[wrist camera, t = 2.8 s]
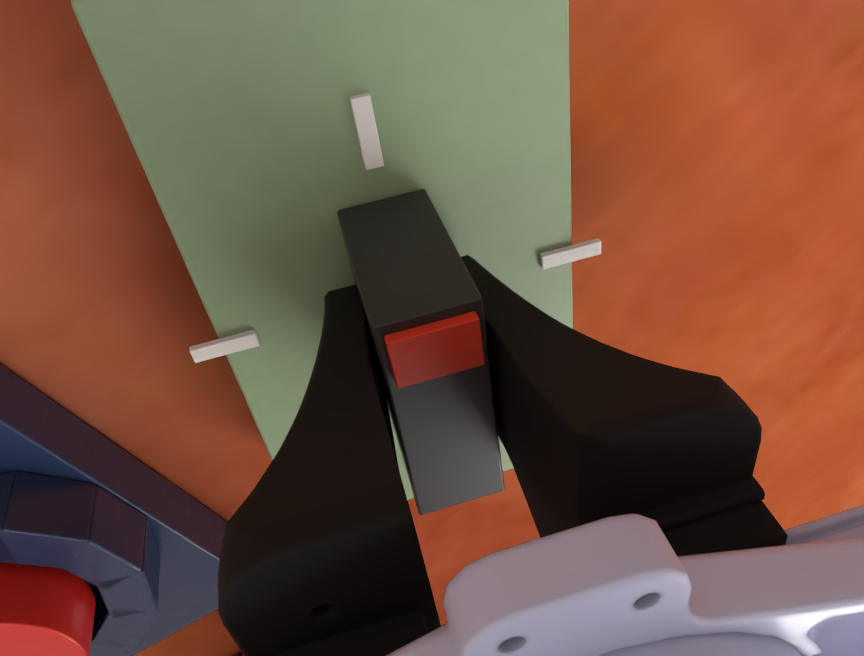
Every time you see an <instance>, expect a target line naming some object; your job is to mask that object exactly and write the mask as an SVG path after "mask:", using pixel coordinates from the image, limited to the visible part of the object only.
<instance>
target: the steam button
mask: <svg viewBox="0 0 864 656" xmlns="http://www.w3.org/2000/svg"><path fill="white" fill-rule="evenodd" d="M95 608H96V599H95V596H94V593H93V591H92V589H91V587H90V586H89V585H88V584H87V583H86V581H84V580H83V579H81V578H79V577H77V576H75V575H73V574H71V573H70V572H68V571H66V570H64V569H62V568H52V567H43V566H34V565H25V564H16V563H7V562H0V656H90V649H91V640H92V632H93V624H94V616H95Z"/></svg>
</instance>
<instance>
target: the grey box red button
mask: <svg viewBox="0 0 864 656" xmlns="http://www.w3.org/2000/svg"><path fill="white" fill-rule="evenodd" d="M226 523H227V521H225V520H224V519H222V518H221V517H220V516H218V515H217V514H215V513H214V512H212V511H211V510H210V509H208V508H207V507H205V506H204V505H202V504H201V503H199V502H198V501H197V500H195V499H194V498H192V497H191V496H189V495H188V494H187V493H185V492H184V491H182V490H181V489H179V488H178V487H176V486H175V485H174V484H172V483H171V482H169V481H168V480H166V479H165V478H164V477H162V476H161V475H159V474H158V473H156V472H155V471H153V470H152V469H151V468H149V467H148V466H146V465H145V464H143V463H142V462H141V461H139V460H138V459H136V458H135V457H133V456H132V455H130V454H129V453H128V452H126V451H125V450H123V449H122V448H120V447H119V446H118V445H116V444H115V443H113V442H112V441H110V440H109V439H107V438H106V437H105V436H103V435H102V434H100V433H99V432H97V431H96V430H95V429H93V428H92V427H90V426H89V425H87V424H86V423H84V422H83V421H82V420H80V419H79V418H77V417H76V416H74V415H73V414H72V413H70V412H69V411H67V410H66V409H64V408H63V407H61V406H60V405H59V404H57V403H56V402H54V401H53V400H51V399H50V398H49V397H47V396H46V395H44V394H43V393H41V392H40V391H38V390H37V389H36V388H34V387H33V386H31V385H30V384H28V383H27V382H26V381H24V380H23V379H21V378H20V377H18V376H17V375H15V374H14V373H13V372H11V371H10V370H8V369H7V368H5V367H4V366H3V365H1V364H0V562H7V563H16V564H25V565H34V566H43V567H52V568H62V569H64V570H66V571H68V572H70V573H71V574H73V575H75V576H77V577H79V578H81V579H83V580H84V581H86V583H87V584H88V585H89V586H90V587H91V589H92V591H93V593H94V596H95V599H96V608H95V616H94V624H93V632H92V640H91V649H90V656H134V655H136V654H138V653H139V652H141V651H143V650H145V649H147V648H148V647H150V646H152V645H154V644H156V643H157V642H159V641H161V640H163V639H165V638H166V637H168V636H170V635H172V634H174V633H175V632H177V631H179V630H181V629H183V628H184V627H186V626H188V625H190V624H191V623H193V622H195V621H197V620H199V619H200V618H202V617H204V616H206V615H208V614H209V613H211V612H213V611H215V610H217V609H218V569H219V560H220V553H221V547H222V541H223V537H224V532H225V528H226Z"/></svg>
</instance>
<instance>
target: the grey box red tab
mask: <svg viewBox="0 0 864 656" xmlns="http://www.w3.org/2000/svg"><path fill="white" fill-rule="evenodd" d="M337 215H338V219H339V223H340V226H341V230H342V234H343V238H344V242H345V246H346V249H347V253H348V257H349V261H350V265H351V269H352V273H353V276H354V280H355V284H356V286H357V289H358V292H359V295H360V298H361V302H362V305H363V309H364V312H365V316H366V320H367V324H368V328H369V332H370V336H371V340H372V343H373V347H374V351H375V355H376V359H377V363H378V367H379V371H380V375H381V378H382V382H383V386H384V390H385V394H386V398H387V403H388V408H389V412H390V416H391V419H392V423H393V426H394V430H395V433H396V437H397V440H398V443H399V447H400V450H401V454H402V457H403V461H404V464H405V468H406V471H407V474H408V478H409V481H410V485H411V488H412V492H413V495H414V499H415V502H416V506H417V509H418V512H419V514H420V515H423V514H427V513H430V512H433V511H437V510H440V509H443V508H447V507H450V506H453V505H457V504H460V503H463V502H467V501H470V500H473V499H477V498H480V497H483V496H487V495H490V494H493V493H497V492H500V491H503V490H504V479H503V470H502V462H501V453H500V445H499V436H498V428H497V420H496V411H495V403H494V394H493V386H492V377H491V369H490V360H489V352H488V343H487V335H486V326H485V318H484V309H483V301H482V297H481V295H480V293H479V291H478V289H477V287H476V285H475V284H474V282H473V280H472V278H471V276H470V274H469V272H468V270H467V268H466V266H465V264H464V263H463V261H462V259H461V257H460V255H459V253H458V251H457V249H456V247H455V245H454V243H453V241H452V240H451V238H450V236H449V234H448V232H447V230H446V228H445V226H444V224H443V222H442V220H441V218H440V217H439V215H438V213H437V211H436V209H435V207H434V205H433V203H432V201H431V199H430V197H429V195H428V194H427V192H426V190H425V189H421V190H417V191H413V192H409V193H405V194H401V195H397V196H393V197H389V198H385V199H381V200H377V201H373V202H369V203H365V204H361V205H357V206H353V207H349V208H345V209H341V210H339V211H338V212H337Z"/></svg>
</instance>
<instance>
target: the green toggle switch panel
mask: <svg viewBox="0 0 864 656" xmlns="http://www.w3.org/2000/svg"><path fill="white" fill-rule="evenodd" d="M71 6H72V9H73V11H74V13H75V15H76V18H77V20H78V22H79V24H80V27H81V29H82V31H83V34H84V36H85V38H86V40H87V43H88V45H89V47H90V49H91V52H92V54H93V56H94V58H95V61H96V63H97V65H98V67H99V70H100V72H101V74H102V77H103V79H104V81H105V83H106V86H107V88H108V90H109V92H110V95H111V97H112V99H113V101H114V104H115V106H116V108H117V110H118V113H119V115H120V117H121V120H122V122H123V124H124V126H125V129H126V131H127V133H128V135H129V138H130V140H131V142H132V144H133V147H134V149H135V151H136V153H137V156H138V158H139V160H140V163H141V165H142V167H143V169H144V172H145V174H146V176H147V178H148V181H149V183H150V185H151V187H152V190H153V192H154V194H155V196H156V199H157V201H158V203H159V206H160V208H161V210H162V212H163V215H164V217H165V219H166V221H167V224H168V226H169V228H170V230H171V233H172V235H173V237H174V239H175V242H176V244H177V246H178V249H179V251H180V253H181V255H182V258H183V260H184V262H185V264H186V267H187V269H188V271H189V273H190V276H191V278H192V280H193V282H194V285H195V287H196V289H197V292H198V294H199V296H200V298H201V301H202V303H203V305H204V307H205V310H206V312H207V314H208V316H209V319H210V321H211V323H212V325H213V328H214V330H215V332H216V335H217V337H218V339H216V340H212V341H209V342H205V343H201V344H197V345H193V346H190V347H189V352H190V354H191V356H192V358H193V360H194V362H195V363H197V362H201V361H205V360H208V359H212V358H216V357H220V356H223V355H226V357H227V359H228V362H229V364H230V366H231V368H232V371H233V373H234V375H235V378H236V380H237V382H238V384H239V387H240V389H241V391H242V393H243V396H244V398H245V400H246V402H247V405H248V407H249V409H250V411H251V414H252V416H253V418H254V421H255V423H256V425H257V427H258V430H259V432H260V434H261V436H262V439H263V441H264V443H265V445H266V448H267V450H268V452H269V454H270V457H271V459H272V461H273V459H274V458H275V456H276V454H277V452H278V451H279V449H280V447H281V445H282V444H283V442H284V440H285V438H286V436H287V434H288V432H289V430H290V428H291V426H292V424H293V422H294V419H295V417H296V415H297V413H298V410H299V408H300V406H301V403H302V400H303V398H304V395H305V392H306V390H307V387H308V384H309V380H310V377H311V374H312V371H313V367H314V364H315V361H316V357H317V352H318V348H319V343H320V339H321V334H322V327H323V321H324V308H325V302H324V297H325V295H326V294H327V293H328V291H332V290H336V289H340V288H344V287H347V286H351V285H355V280H354V276H353V273H352V269H351V265H350V261H349V257H348V253H347V249H346V246H345V242H344V238H343V234H342V230H341V226H340V223H339V219H338V215H337V212H338V211H339V210H341V209H345V208H349V207H353V206H357V205H361V204H365V203H369V202H373V201H377V200H381V199H385V198H389V197H393V196H397V195H401V194H405V193H409V192H413V191H417V190H421V189H425V190H426V192H427V194H428V195H429V197H430V199H431V201H432V203H433V205H434V207H435V209H436V211H437V213H438V215H439V217H440V218H441V220H442V222H443V224H444V226H445V228H446V230H447V232H448V234H449V236H450V238H451V240H452V241H453V243H454V245H455V247H456V249H457V251H458V253H459V255H460V257H461V256H465V255H469V256H471V257H472V258H474V259H475V260H476V261H477V262H478V263H479V264H480V265H482V266H483V267H484V268H485V269H486V270H488V271H489V272H490V273H491V274H492V275H494V276H495V277H496V278H497V279H499V280H500V281H501V282H502V283H504V284H505V285H506V286H507V287H509V288H510V289H511V290H513V291H514V292H515V293H517V294H518V295H520V296H521V297H522V298H524V299H525V300H527V301H528V302H529V303H531V304H532V305H534V306H535V307H537V308H538V309H540V310H541V311H543V312H544V313H546V314H548V315H549V316H551V317H553V318H554V319H556V320H557V321H559V322H561V323H563V324H564V325H566V326H568V327H570V328H572V329H573V301H572V262H573V261H577V260H581V259H584V258H588V257H592V256H596V255H599V254H601V240H600V239H599V238H596V239H592V240H588V241H585V242H581V243H577V244H573V245H572V225H571V150H570V74H569V0H71ZM389 414H390V412H389ZM390 420H391V426H392V432H393V437H394V443H395V449H396V455H397V461H398V467H399V472H400V476H401V479H402V483H403V486H404V490H405V493H406V497H407V500H409V499H412V498H414V495H413V492H412V488H411V485H410V481H409V478H408V474H407V471H406V468H405V464H404V461H403V457H402V454H401V450H400V447H399V443H398V440H397V437H396V433H395V430H394V426H393V423H392V419H391V416H390ZM499 445H500V453H501V462H502V470H503V471H506V470H510V469H513V468H514V467H513V465H512V463H511V460H510V458H509V456H508V454H507V452H506V450H505V448H504V446H503V444H502V442H501V440H500V438H499Z"/></svg>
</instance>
